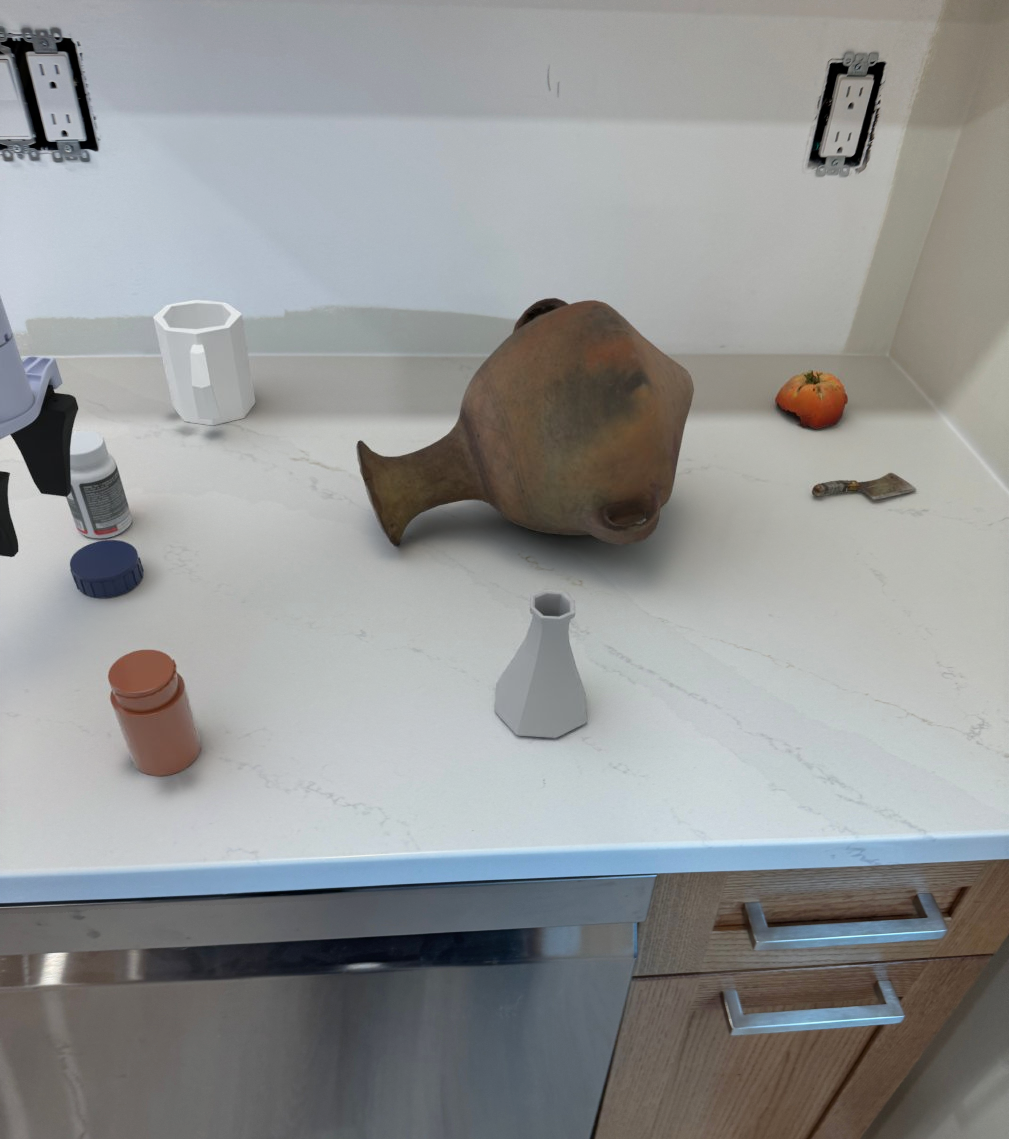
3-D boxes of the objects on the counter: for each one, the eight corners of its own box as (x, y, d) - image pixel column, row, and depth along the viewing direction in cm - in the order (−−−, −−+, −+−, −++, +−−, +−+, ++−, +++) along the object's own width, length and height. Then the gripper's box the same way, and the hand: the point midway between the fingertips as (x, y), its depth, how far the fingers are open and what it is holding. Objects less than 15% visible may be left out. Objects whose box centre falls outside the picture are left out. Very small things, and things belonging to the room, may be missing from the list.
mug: (174, 390, 99) (154, 301, 92) (254, 385, 100) (240, 298, 93) (171, 446, 90) (149, 352, 83) (258, 440, 92) (244, 348, 85)
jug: (666, 468, 93) (382, 523, 92) (657, 265, 82) (334, 326, 81) (736, 551, 76) (389, 620, 75) (735, 310, 65) (329, 387, 64)
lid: (154, 563, 77) (149, 544, 75) (125, 603, 73) (119, 583, 71) (95, 554, 77) (88, 535, 76) (63, 593, 73) (56, 574, 72)
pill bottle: (141, 512, 82) (118, 430, 76) (120, 542, 79) (94, 458, 73) (90, 507, 82) (64, 424, 76) (67, 537, 79) (38, 453, 73)
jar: (140, 785, 60) (111, 705, 54) (125, 739, 63) (95, 658, 57) (209, 761, 62) (187, 682, 56) (190, 718, 64) (168, 638, 59)
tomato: (784, 374, 106) (835, 345, 100) (816, 420, 108) (868, 394, 102) (756, 409, 102) (807, 380, 96) (790, 456, 104) (842, 431, 98)
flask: (508, 749, 64) (517, 647, 57) (481, 679, 69) (486, 577, 62) (602, 731, 66) (622, 630, 59) (569, 665, 71) (584, 564, 64)
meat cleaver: (924, 503, 91) (902, 478, 94) (928, 493, 90) (906, 468, 94) (815, 502, 89) (797, 477, 93) (819, 492, 88) (801, 466, 92)
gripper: (-34, 287, 61) (28, 463, 70) (-179, 384, 50) (-83, 575, 60) (66, 298, 60) (115, 474, 70) (-59, 398, 50) (18, 588, 59)
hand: (30, 521), depth 65 cm, fingers open, 7 cm apart
